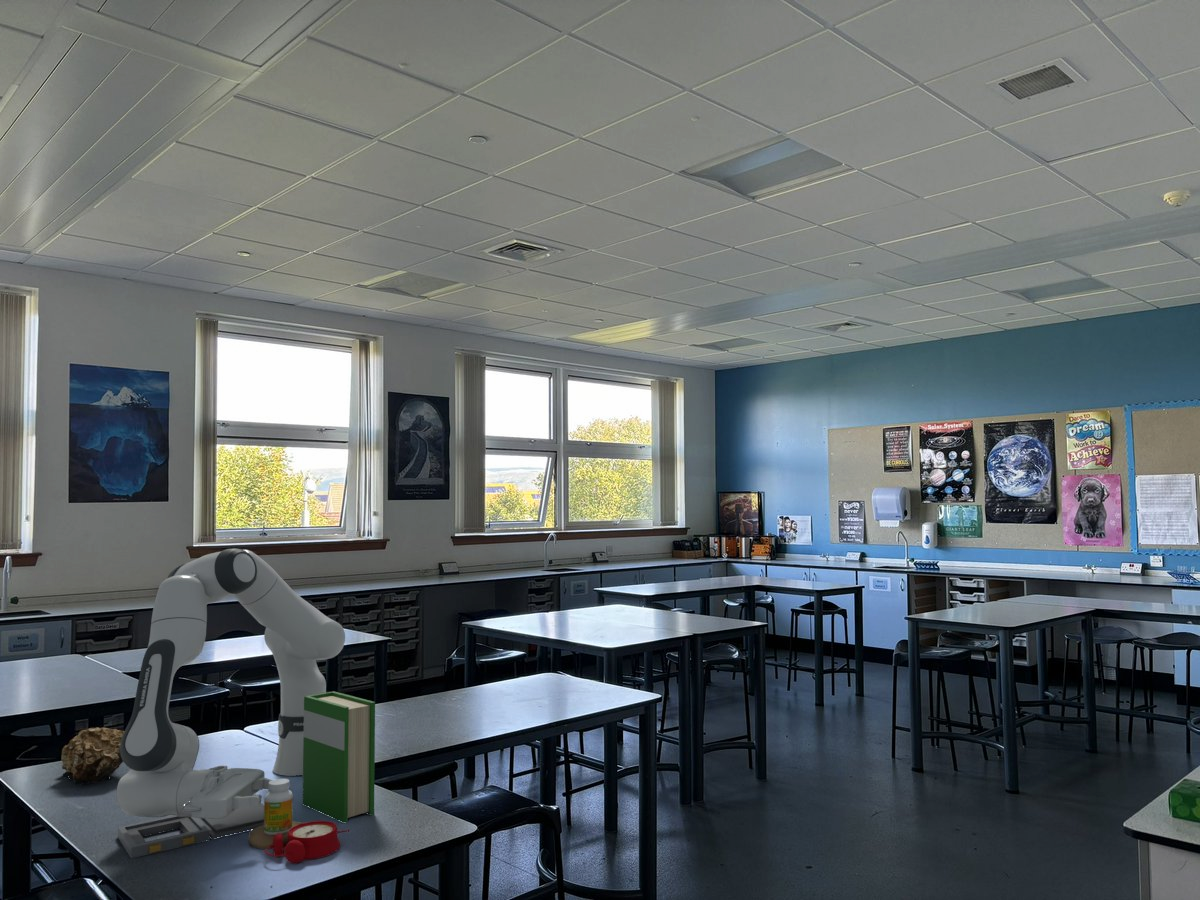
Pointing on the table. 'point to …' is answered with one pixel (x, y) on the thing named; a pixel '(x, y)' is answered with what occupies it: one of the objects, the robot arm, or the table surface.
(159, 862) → the table surface
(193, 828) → the equipment case
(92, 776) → the fossil
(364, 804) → the hardback book
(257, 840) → the round brown pad
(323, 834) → the alarm clock
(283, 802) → the supplement bottle
